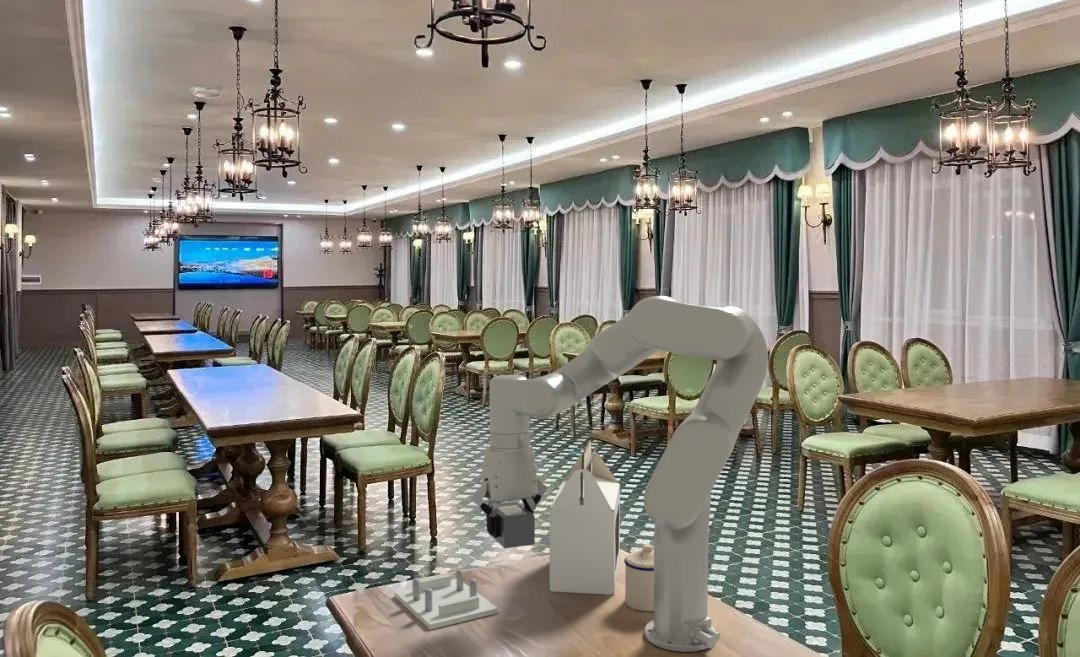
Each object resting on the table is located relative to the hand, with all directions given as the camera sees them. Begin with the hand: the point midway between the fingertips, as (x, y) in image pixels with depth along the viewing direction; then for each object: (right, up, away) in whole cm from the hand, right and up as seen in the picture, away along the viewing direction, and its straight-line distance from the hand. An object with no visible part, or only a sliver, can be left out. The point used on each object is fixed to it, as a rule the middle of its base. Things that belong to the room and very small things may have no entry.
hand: (510, 531), depth 153 cm
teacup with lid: (+27, -15, +6) cm, 31 cm away
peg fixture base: (-13, -15, +4) cm, 21 cm away
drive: (0, -1, 0) cm, 1 cm away
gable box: (+16, -15, +20) cm, 30 cm away
